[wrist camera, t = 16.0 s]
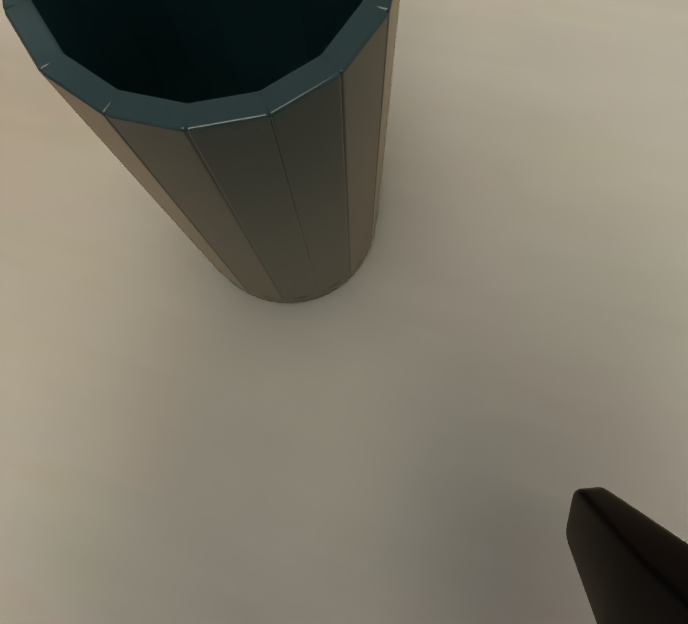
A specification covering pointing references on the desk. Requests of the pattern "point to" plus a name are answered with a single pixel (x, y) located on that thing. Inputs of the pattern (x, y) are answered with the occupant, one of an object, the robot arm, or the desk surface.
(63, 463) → the desk surface
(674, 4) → the desk surface
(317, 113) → the pen pot
